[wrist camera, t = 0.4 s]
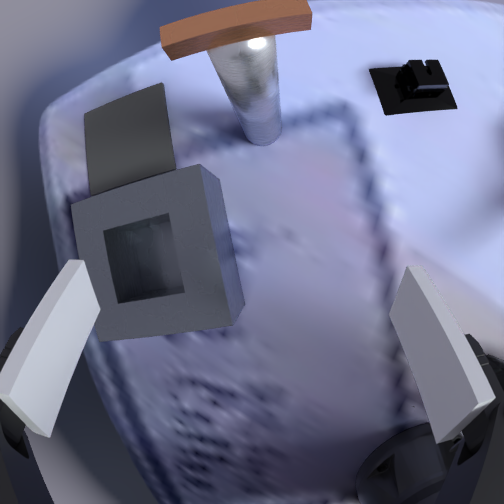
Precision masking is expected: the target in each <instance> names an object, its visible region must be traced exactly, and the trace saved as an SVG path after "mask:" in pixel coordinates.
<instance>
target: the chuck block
mask: <svg viewBox="0 0 504 504" xmlns="http://www.w3.org/2000/svg"><path fill="white" fill-rule="evenodd" d="M71 210H72V217H73V224H74V231H75V237H76V243H77V249H78V255H79V260H84V262H85V265H86V269H87V272H88V275H89V278H90V281H91V284H92V287H93V290H94V293H95V296H96V298H97V301H98V304H99V307H100V312H99V314H98V316H97V318H96V321H95V323H94V325H95V328H96V332H97V336H98V339H99V342H102V341H113V340H124V339H134V338H143V337H152V336H160V335H169V334H176V333H184V332H192V331H199V330H206V329H213V328H219V327H226V326H232V325H233V324H234V323H235V321H236V319H237V318H238V316H239V314H240V312H241V311H242V309H243V307H244V306H245V302H244V297H243V292H242V288H241V283H240V278H239V273H238V269H237V264H236V259H235V254H234V249H233V244H232V240H231V235H230V230H229V225H228V220H227V215H226V210H225V205H224V200H223V195H222V190H221V185H220V180H219V179H218V178H217V177H216V176H215V175H213V174H212V173H211V172H210V171H208V170H207V169H206V168H204V167H203V166H202V165H201V164H197V165H193V166H189V167H186V168H182V169H179V170H175V171H171V172H168V173H165V174H161V175H158V176H154V177H151V178H148V179H144V180H141V181H138V182H135V183H132V184H129V185H125V186H122V187H119V188H116V189H113V190H110V191H107V192H104V193H102V194H99V195H96V196H93V197H90V198H87V199H85V200H82V201H79V202H76V203H74V204H71Z"/></svg>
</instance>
